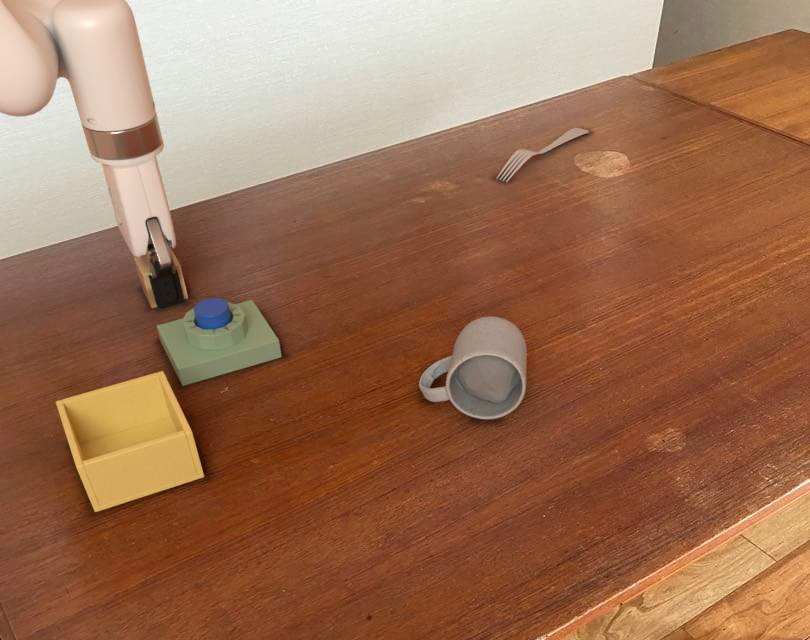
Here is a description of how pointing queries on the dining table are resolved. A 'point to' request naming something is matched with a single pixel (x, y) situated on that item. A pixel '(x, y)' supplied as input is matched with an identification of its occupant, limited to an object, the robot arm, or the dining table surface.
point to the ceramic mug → (482, 370)
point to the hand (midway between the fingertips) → (164, 292)
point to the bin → (129, 440)
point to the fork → (524, 152)
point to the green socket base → (218, 344)
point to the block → (145, 272)
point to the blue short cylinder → (212, 313)
